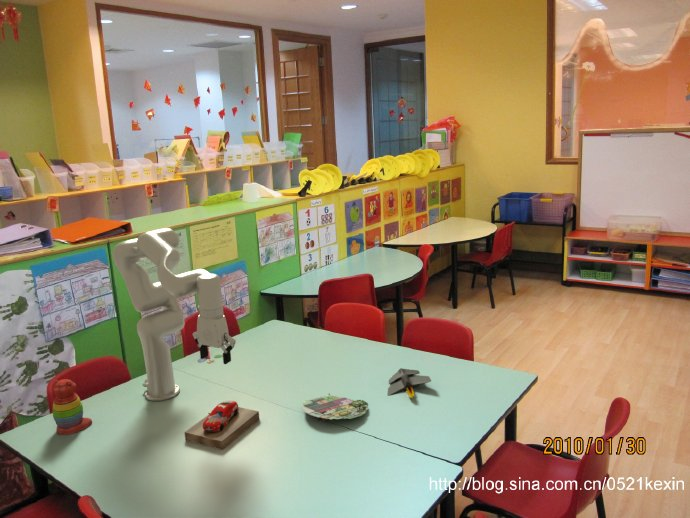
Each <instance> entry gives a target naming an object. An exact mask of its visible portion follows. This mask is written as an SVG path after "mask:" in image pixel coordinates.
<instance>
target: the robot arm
mask: <svg viewBox="0 0 690 518" xmlns="http://www.w3.org/2000/svg"><path fill="white" fill-rule="evenodd" d="M179 245H180V238H179V235H178V234H177V232H176V231H175V230H174V229H172V228H169V227H165V228H159V229H154V230H150V231H145V232H143V233H141V234H140V235H139V236H138V237H136V238H132V239H127V240H123V241H120V242H119V243H117V244H116V245H114V248H113V250H112V259H113V262H114V265H115V267H116V269H117V271H118V273H120V275H121V277H122V279H123V280H124V283H125V286H126V289H127V292H128V294H129V298H130V301H131V304H132V306H133V308H134V310H135V311H136V312H138V313H145V312H150V311H153V310H156V309H160V308H162V310H161V311H156V312H153V313H149V314H147V315H144V316H143V317H141V318H140V319H139V320H138V321H137V324H136V331H137V335H138V337H139V340H140V343H141V348H142V353H143V359H144V366H145V374H146V378H145V379H144V381H143V383H142V387H144V388H146V391H145V394H144V397H145V399H147V400H148V401H153V402H154V401H155V402H160V401H165V400H170V399H171V398H174V397H176V396H177V395H178V394H179V393H180V392H181V391H180V389H181V388H180V386H179V385H178V384H176V383H175V378H174V377H175V376H174V375H175V374H174V368H173V363H172V362H173V361H172V355H171V348H170V346H169V344H168V343H167V342H166V341H164V339H163V338H166V337H168V336H170V335H172V334H175V333H177V332H180V331H181V330H183V329H184V327H185V317H184V314H183V311H182V308H181V306H180V301H179V300H178V298H179V299H181V298H186V297H188V296H192V295H194V294H195V295H196V294H197V301H198V302H197V303H198V306H197V310H198V312H199V315H198V316H197V320H196V321H197V322H196V331H194V332H193V333H192V336H193V338H194V342H195V343H196V344H197V347H198V348H199V354H200V355H199V356H200V359H206V357H207V356H208V347H209V348H217V349H221V350H222V351H223V352H222V355H223V357H222V361H223V365H227V364H228V363H230V362H231V361H232V355H231V351H232V350H233V349H234V347H235V345H236V342H237V340H236V339H235V338H233V337H232V336H231V335H229V328H228V323H227V322H228V321H227V319H226V316H225V315H224V308H223V295H222V283H221V278H220V276H219V274H216V273H212V272H209V271H208V270H206V269H204V268H197V269H194V270H189V271H186V272H183V273H179V274H175V273H173V272H172V271H173V270H174V269H175V268H176V267H177V266H178V264H179V262H180V258H181V255H180V252H179V251H178V250H177V248H178V247H179ZM147 260H149V261H150V262H151V263H153V264H154V265H155V266H156V267H157V271H156V272H157V278H158V281H156V282H153V283H152V282H151V279H150V277H149V274H148V272H147V270H146V269H145V268H144V267H143V266H141V265H140V264H138V262H142V261H147Z"/></svg>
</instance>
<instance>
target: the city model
mask: <svg viewBox="0 0 690 518" xmlns="http://www.w3.org/2000/svg"><path fill="white" fill-rule="evenodd" d="M368 404H369V403H368V402H367V401H365V400H363V399H351V398H347V397H342V396H337V395H335V396H334V395H331V394H330V392H329V393H328V396H324V395H323V396H319V397H315V398H311V399H308V400H304V402H303V403H302V405H301V409H302V410H303V412H304V413H306V414H308V415H309V416H313V417H316V418H318V421H322V423H325V422H326V421H328V419H329V420H333V419H334V420H340V419H341V420H343V419H344V420H346V419H349V420H351V419H354V418H357V417H361V416H363V415H365V414H366V413H367V412H368V410H369V405H368Z"/></svg>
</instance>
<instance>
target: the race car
mask: <svg viewBox="0 0 690 518" xmlns="http://www.w3.org/2000/svg"><path fill="white" fill-rule="evenodd" d="M238 407H239V404H238V402H237V401H235V400H224V401H221V402H220V403H218V404H217V405H216V406H214V408H213V409H212V410H211V411H210V412H208V414H207V415H209V416H208V418H207V419H206V420H205V421H204V422H203V429H204V430H205V431H207V432H217V431H222V430H223V427H225V425H226V424H227V423H228V422H229V421H230V420H231V419H232V418H233V417H234V416H236V415H237V412H238V410H239V409H238Z"/></svg>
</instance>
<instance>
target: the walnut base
mask: <svg viewBox="0 0 690 518" xmlns="http://www.w3.org/2000/svg"><path fill="white" fill-rule="evenodd" d="M238 409H239V410H238V412H237V415H236V416H234V417H233V418H232V419H231V420H230V421H229V422H228V423H227V424H226V425H225V427H223V430H222V431H217V432H207V431H205V430H204V429H203V422H204V421H205V420H206V419H207V418H208V416H209V414H207V415H206V416H204V417H203V418H202V419H200V420H199V421H198V422H196V423H195V424H193V425H191V427H189V428H188V429H187V430H185V431H184V437H185V441H186V442H191V443H193V444H199V445H202V446H205V447H210V448H213V449H218V450H222V451H224V450H225V449H226V448H227V447H228V446H229V445H231V444H232V443H233V442H234V441H235V440H237V439H238V438H239V437H240V436H241V435H243V434H244V433H245V432H247V430H249V429H250V428H251V427H253V425H255V424H256V423H257V422H258V421H259V420H260V411H258V410H253V409H250V408H245V407H239V406H238Z"/></svg>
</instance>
